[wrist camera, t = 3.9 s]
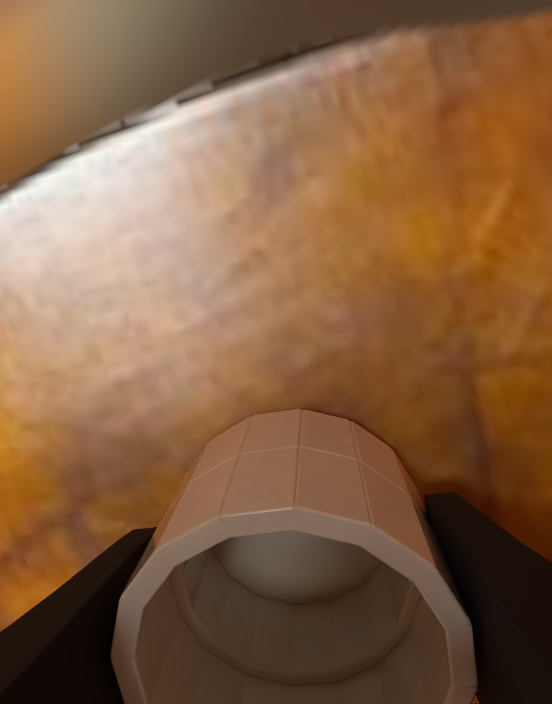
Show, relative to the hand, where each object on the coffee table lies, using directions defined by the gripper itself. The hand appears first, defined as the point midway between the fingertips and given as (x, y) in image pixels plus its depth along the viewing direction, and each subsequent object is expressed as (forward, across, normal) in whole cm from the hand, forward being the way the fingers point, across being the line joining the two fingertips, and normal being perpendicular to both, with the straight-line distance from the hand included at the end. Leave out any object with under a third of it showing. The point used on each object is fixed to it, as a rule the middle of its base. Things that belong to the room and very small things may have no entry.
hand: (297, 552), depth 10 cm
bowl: (+2, 0, 0) cm, 2 cm away
